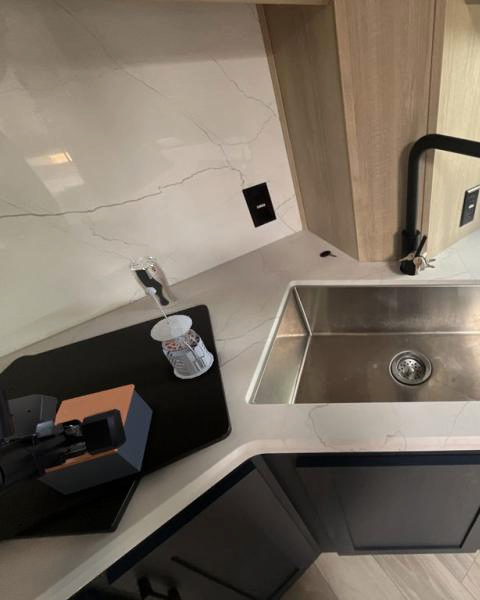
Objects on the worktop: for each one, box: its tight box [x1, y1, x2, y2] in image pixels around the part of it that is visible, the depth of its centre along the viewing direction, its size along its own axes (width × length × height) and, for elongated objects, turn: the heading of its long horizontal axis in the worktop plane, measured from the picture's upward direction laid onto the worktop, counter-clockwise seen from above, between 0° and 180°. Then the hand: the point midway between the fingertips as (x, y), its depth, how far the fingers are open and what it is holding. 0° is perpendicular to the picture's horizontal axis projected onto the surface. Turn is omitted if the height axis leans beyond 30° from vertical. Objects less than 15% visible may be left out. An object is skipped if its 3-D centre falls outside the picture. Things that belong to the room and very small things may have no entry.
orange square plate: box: [45, 383, 135, 472], centre depth 59 cm, size 14×12×1 cm
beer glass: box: [127, 256, 178, 310], centre depth 93 cm, size 7×7×15 cm
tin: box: [36, 389, 154, 496], centre depth 62 cm, size 14×12×9 cm
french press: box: [144, 287, 214, 380], centre depth 73 cm, size 10×12×25 cm
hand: (83, 430), depth 58 cm, fingers closed, pressing on orange square plate
